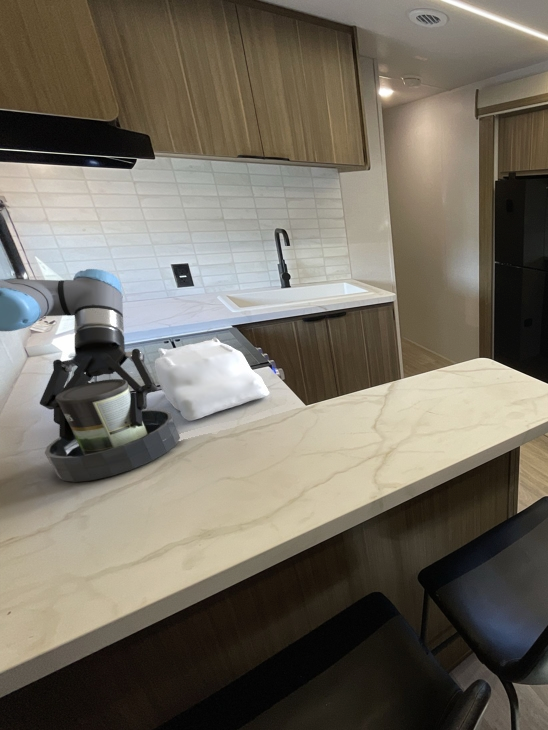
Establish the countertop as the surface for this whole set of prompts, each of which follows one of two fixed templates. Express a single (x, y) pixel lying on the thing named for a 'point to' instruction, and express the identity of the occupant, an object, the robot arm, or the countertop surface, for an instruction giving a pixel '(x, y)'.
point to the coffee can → (100, 415)
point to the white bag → (207, 378)
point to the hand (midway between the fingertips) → (102, 431)
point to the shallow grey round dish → (114, 451)
